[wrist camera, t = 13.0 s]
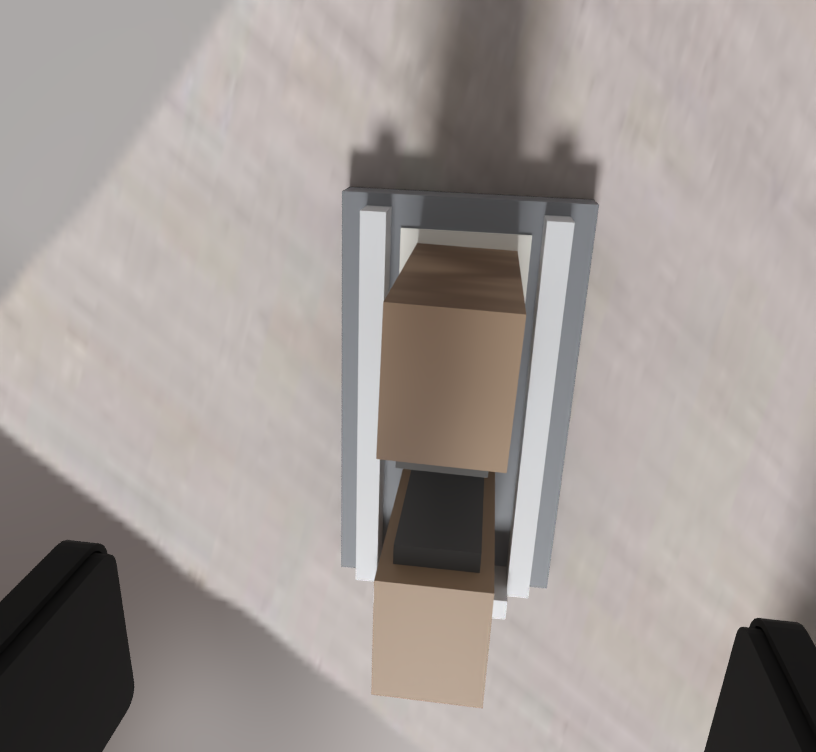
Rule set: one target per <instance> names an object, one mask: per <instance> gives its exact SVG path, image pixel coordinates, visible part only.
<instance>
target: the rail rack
mask: <svg viewBox="0 0 816 752" xmlns="http://www.w3.org/2000/svg"><path fill="white" fill-rule="evenodd" d="M598 208H599V204H598V203H597V202H596V201H595V200H587V199H568V198H549V197H530V196H511V195H492V194H473V193H454V192H435V191H416V190H397V189H379V188H360V187H349V188H347V189H345V190H343V191H342V504H341V567H351V568H356V580H364V581H373V582H374V587H373V645H372V688H371V695H379V696H387V697H395V698H403V699H411V700H419V701H427V702H435V703H443V704H451V705H459V706H467V707H475V708H483V700H484V690H485V680H486V670H487V661H488V651H489V641H490V631H491V622H492V618H495V619H504V620H505V617H506V608H507V596H511V597H521V598H528V594H529V587H538V588H547V583H548V575H549V568H550V561H551V553H552V546H553V539H554V531H555V524H556V517H557V509H558V502H559V495H560V487H561V480H562V472H563V465H564V458H565V450H566V443H567V436H568V428H569V421H570V414H571V406H572V399H573V392H574V384H575V377H576V369H577V362H578V355H579V347H580V340H581V333H582V325H583V318H584V311H585V303H586V296H587V289H588V281H589V274H590V266H591V259H592V252H593V244H594V237H595V230H596V222H597V215H598ZM417 243H424V244H436V245H449V246H461V247H474V248H486V249H499V250H512V251H518V258H519V265H520V272H521V279H522V286H523V294H524V301H525V308H526V322H525V330H524V338H523V346H522V354H521V362H520V370H519V378H518V386H517V394H516V402H515V410H514V418H513V426H512V434H511V442H510V450H509V458H508V466H507V473H500V472H491V471H489V473H488V478H483V477H474V476H465V475H456V474H447V473H438V472H428V471H419V470H410V469H401V468H395V465H396V461H390V460H380V459H376V452H377V429H378V407H379V385H380V362H381V340H382V318H383V302H384V300H385V298H386V296H387V295H388V293H389V291H390V289H391V288H392V286H393V284H394V282H395V281H396V279H397V277H398V276H399V274H400V272H401V270H402V269H403V267H404V265H405V263H406V262H407V260H408V258H409V257H410V255H411V253H412V251H413V250H414V248H415V246H416V244H417Z"/></svg>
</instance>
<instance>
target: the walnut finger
mask: <svg viewBox="0 0 816 752" xmlns="http://www.w3.org/2000/svg"><path fill="white" fill-rule="evenodd" d="M525 322H526V308H525V301H524V294H523V286H522V279H521V272H520V265H519V258H518V251H512V250H499V249H486V248H474V247H461V246H449V245H436V244H424V243H417V244H416V246H415V248H414V250H413V251H412V253H411V255H410V257H409V258H408V260H407V262H406V263H405V265H404V267H403V269H402V270H401V272H400V274H399V276H398V277H397V279H396V281H395V282H394V284H393V286H392V288H391V289H390V291H389V293H388V295H387V296H386V298H385V300H384V302H383V318H382V340H381V362H380V385H379V407H378V429H377V452H376V459H380V460H390V461H396V465H395V468H401V469H410V470H419V471H428V472H438V473H447V474H456V475H465V476H474V477H483V478H488V473H489V471H491V472H500V473H507V466H508V458H509V450H510V442H511V434H512V426H513V418H514V410H515V402H516V394H517V386H518V378H519V370H520V362H521V354H522V346H523V338H524V330H525Z"/></svg>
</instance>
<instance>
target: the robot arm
mask: <svg viewBox="0 0 816 752" xmlns="http://www.w3.org/2000/svg"><path fill="white" fill-rule="evenodd" d="M133 693H134V679H133V672H132V666H131V660H130V652H129V645H128V639H127V632H126V625H125V618H124V611H123V605H122V598H121V591H120V584H119V577H118V571H117V564H116V560H115V558H114V556H113V555H110V554H107V550H106V548H105V547H104V546H103V545H102V544H99V543H90V542H81V541H71V540H65V541H62V542H61V543H59V544H58V545H57V546H56V547H55V548H54V549H53V550H52V551H51V552H50V553H49V554H48V555H47V556H46V557H45V558H44V559H43V560H42V561H41V562H40V563H39V564H38V565H37V566H36V567H35V568H34V569H33V570H32V571H31V572H30V573H29V574H28V575H27V576H26V577H25V578H24V579H23V580H22V581H21V582H20V583H19V584H18V585H17V586H16V587H15V588H14V589H13V590H12V591H11V592H10V593H9V594H8V595H7V596H6V597H5V598H4V599H3V600H2V601H1V602H0V752H102V751H103V749H104V748H105V746H106V744H107V743H108V741H109V740H110V738H111V736H112V735H113V733H114V731H115V730H116V728H117V727H118V725H119V723H120V722H121V720H122V718H123V717H124V715H125V714H126V712H127V710H128V708H129V706H130V704H131V701H132V698H133ZM704 752H816V647H815V645H814V643H813V641H812V640H811V638H810V636H809V634H808V633H807V631H806V629H805V628H804V627H803V626H802V625H801V624H799V623H798V622H789V621H780V620H771V619H762V618H756V619H754V620H753V621H752V622H751V624H750V627H749V628H748V627H740V628H739V629H738V631H737V634H736V637H735V641H734V644H733V648H732V652H731V655H730V659H729V663H728V666H727V670H726V674H725V677H724V681H723V685H722V688H721V692H720V696H719V699H718V703H717V707H716V710H715V714H714V718H713V721H712V725H711V729H710V732H709V736H708V740H707V743H706V747H705V751H704Z"/></svg>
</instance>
